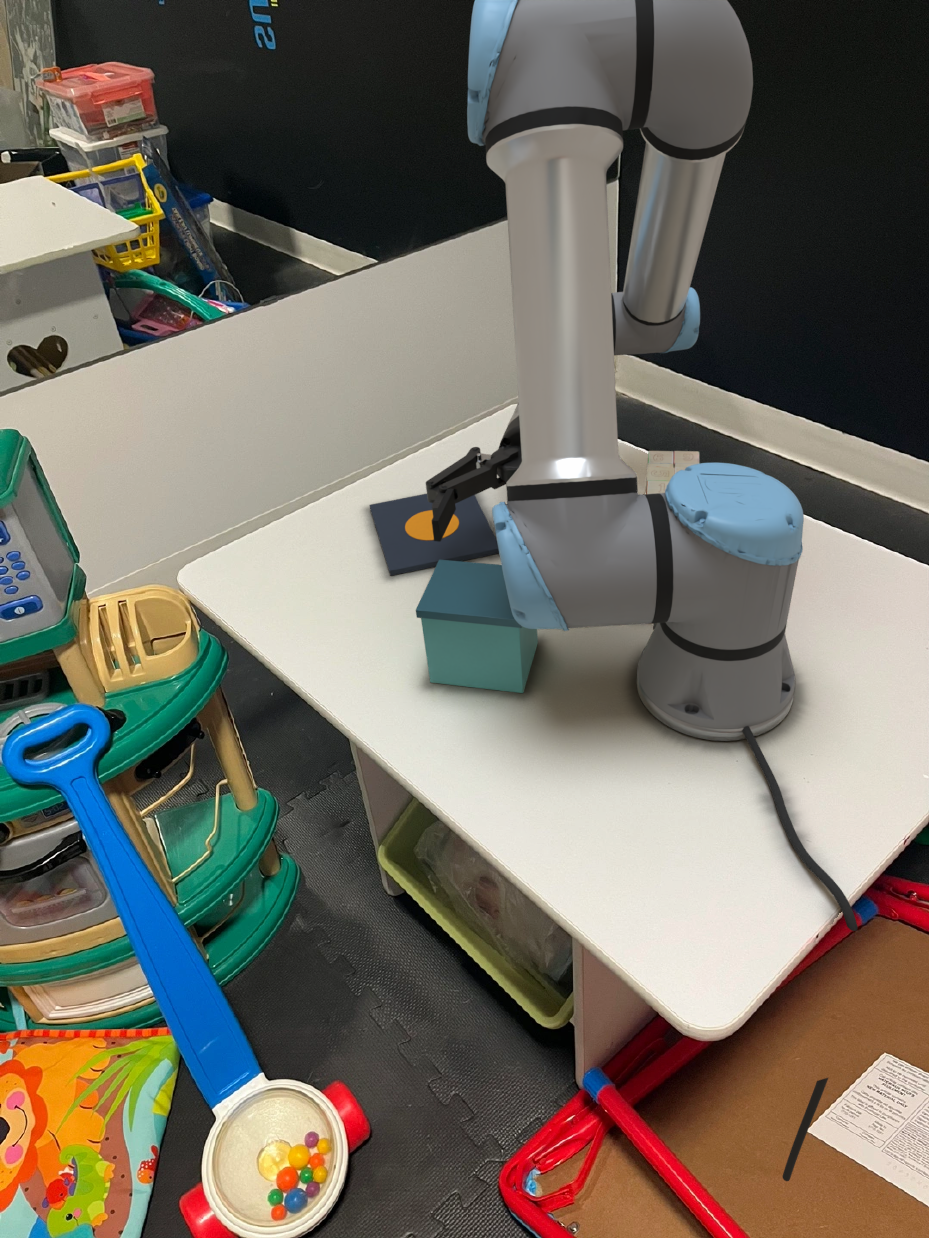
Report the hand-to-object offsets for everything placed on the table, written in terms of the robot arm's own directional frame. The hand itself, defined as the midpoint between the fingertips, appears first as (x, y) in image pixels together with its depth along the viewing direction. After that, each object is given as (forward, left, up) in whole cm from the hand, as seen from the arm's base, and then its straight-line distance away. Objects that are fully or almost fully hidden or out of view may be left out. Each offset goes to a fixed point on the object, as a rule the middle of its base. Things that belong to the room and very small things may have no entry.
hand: (496, 536), depth 98 cm
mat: (+19, +4, -10) cm, 22 cm away
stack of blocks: (+2, -21, -11) cm, 24 cm away
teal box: (-8, +4, -10) cm, 14 cm away
